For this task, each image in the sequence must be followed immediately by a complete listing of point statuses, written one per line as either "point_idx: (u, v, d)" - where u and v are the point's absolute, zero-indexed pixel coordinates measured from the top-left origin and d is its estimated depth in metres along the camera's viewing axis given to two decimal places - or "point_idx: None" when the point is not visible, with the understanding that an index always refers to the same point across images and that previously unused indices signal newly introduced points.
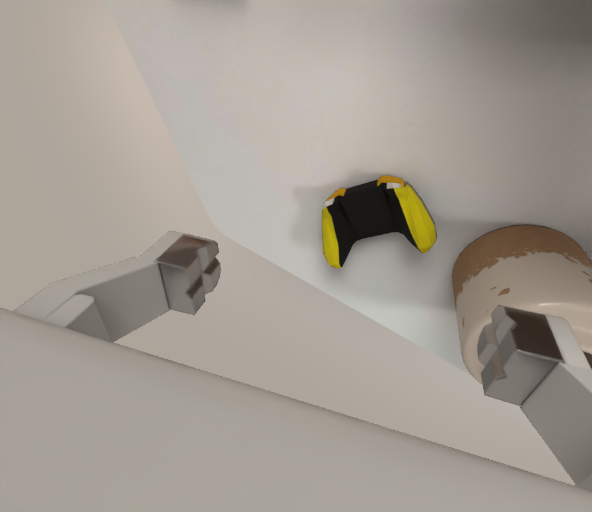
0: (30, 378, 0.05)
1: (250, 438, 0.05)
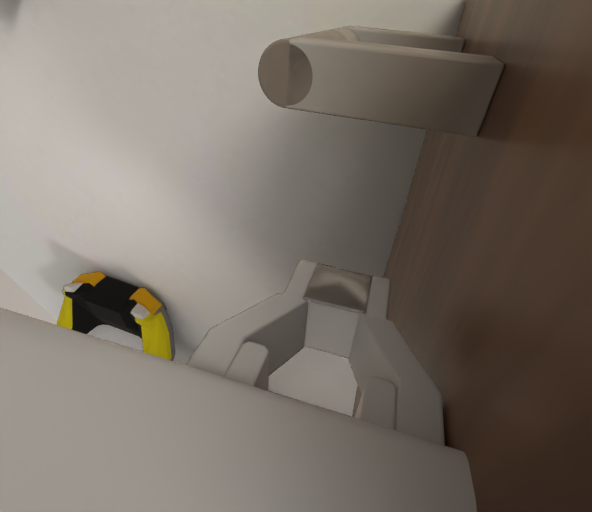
0: (30, 378, 0.05)
1: (250, 438, 0.05)
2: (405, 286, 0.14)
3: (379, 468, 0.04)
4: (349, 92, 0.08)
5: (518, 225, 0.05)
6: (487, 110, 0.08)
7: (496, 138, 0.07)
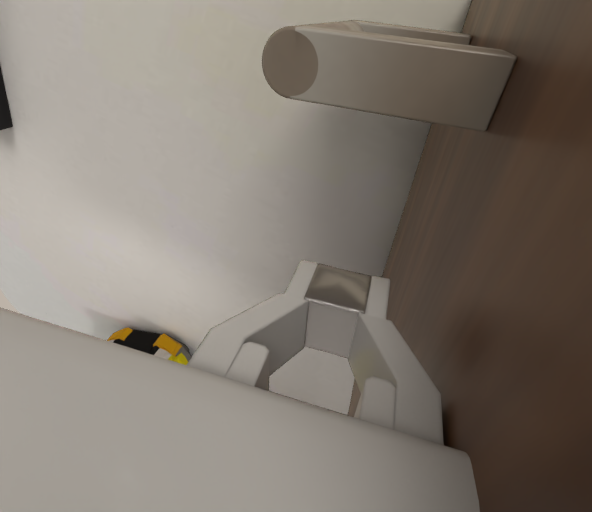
0: (30, 378, 0.05)
1: (250, 438, 0.05)
2: (405, 285, 0.14)
3: (379, 468, 0.04)
4: (355, 83, 0.08)
5: (533, 219, 0.05)
6: (496, 104, 0.08)
7: (508, 132, 0.07)
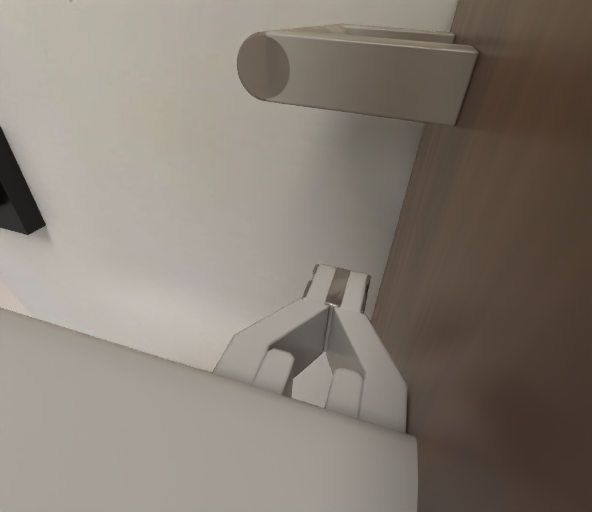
0: (30, 378, 0.05)
1: (250, 438, 0.05)
2: (396, 283, 0.14)
3: (379, 468, 0.04)
4: (326, 83, 0.08)
5: (474, 206, 0.05)
6: (463, 99, 0.08)
7: (467, 125, 0.07)
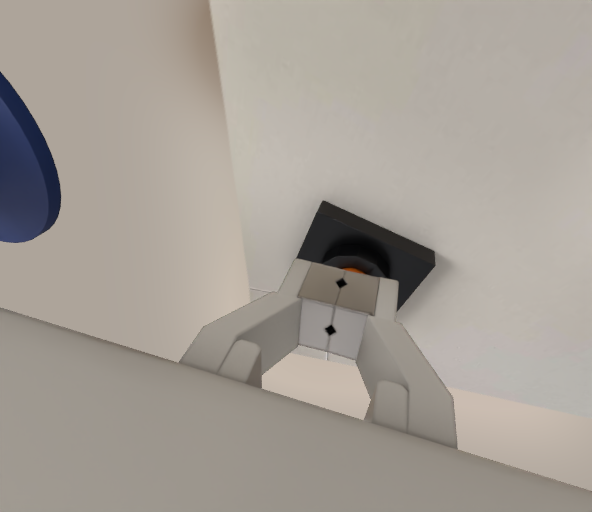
0: (30, 378, 0.05)
1: (250, 438, 0.05)
2: None
3: (379, 468, 0.04)
4: None
5: None
6: None
7: None
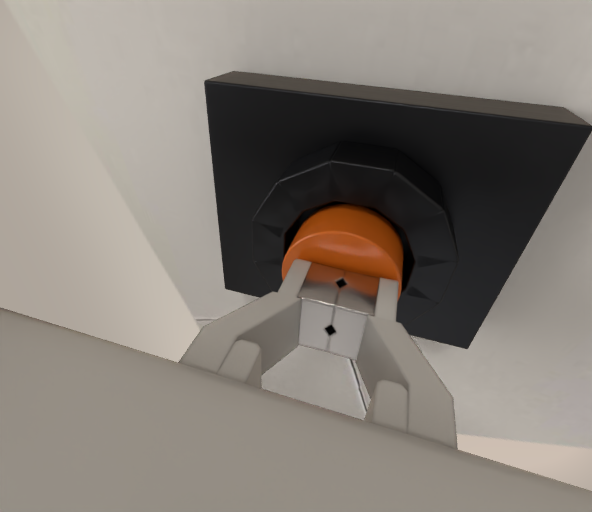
0: (30, 378, 0.05)
1: (250, 438, 0.05)
2: None
3: (379, 468, 0.04)
4: None
5: None
6: None
7: None
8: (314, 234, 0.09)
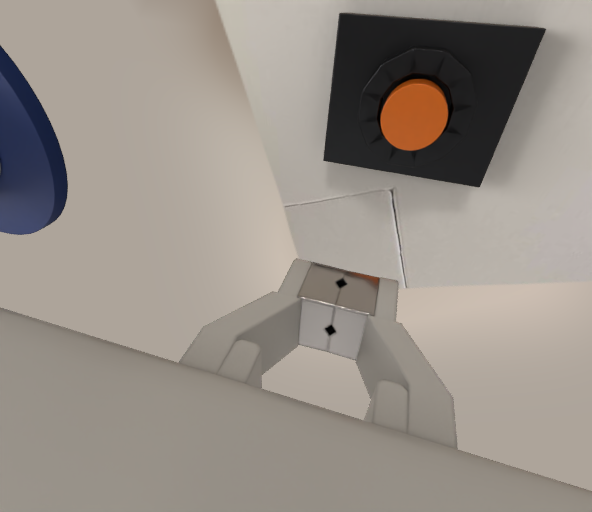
0: (30, 378, 0.05)
1: (250, 438, 0.05)
2: None
3: (379, 468, 0.04)
4: None
5: None
6: None
7: None
8: (404, 87, 0.18)
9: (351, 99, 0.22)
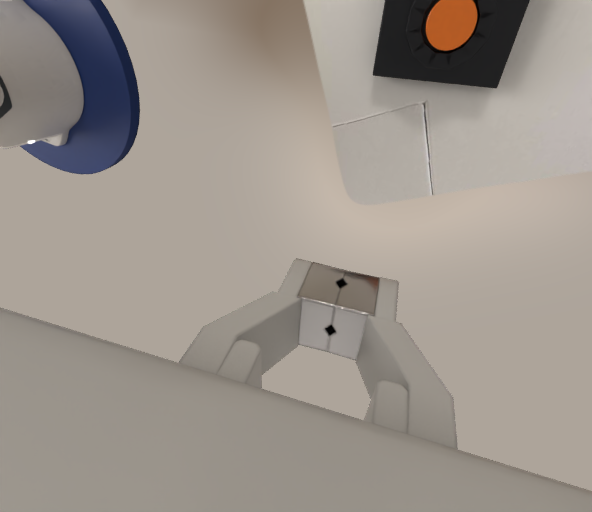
0: (30, 378, 0.05)
1: (250, 438, 0.05)
2: None
3: (379, 468, 0.04)
4: None
5: None
6: None
7: None
8: None
9: (399, 19, 0.29)
